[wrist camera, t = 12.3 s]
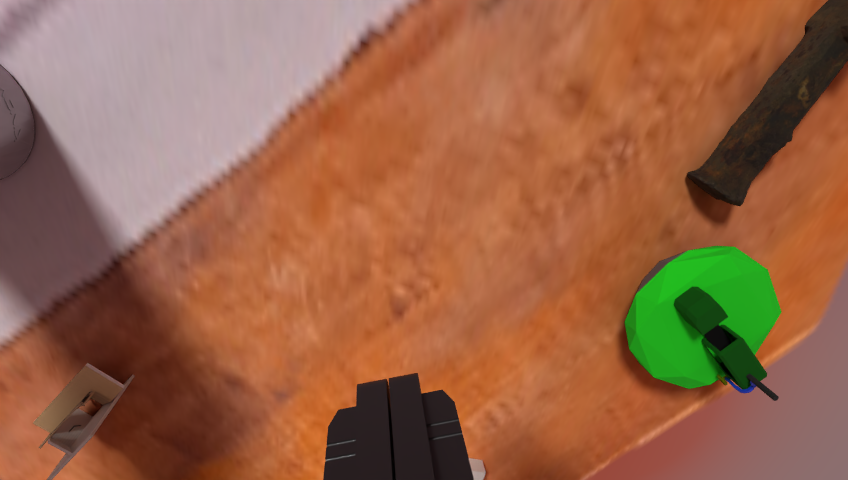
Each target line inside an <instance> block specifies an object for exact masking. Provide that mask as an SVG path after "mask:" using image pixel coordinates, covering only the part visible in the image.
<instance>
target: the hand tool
mask: <svg viewBox="0 0 848 480" xmlns="http://www.w3.org/2000/svg"><path fill="white" fill-rule="evenodd" d="M805 29H806V34H805V36H804V37H803V39H802V40H801V41H800V43H799V44H798V45H797V47H796V48H795V49H794V50H793V52H792V53H791V54H790V55H789V56H788V57H787V58H786V60H785V61H784V62H783V63H782V65H781V66H780V67H779V68H778V70H777V71H776V72H775V73H774V74H773V75H772V76H771V77H770V78H769V79H768V81H767V82H766V84H765V86H764V87H763V89H762V90H761V92H760V93H759V94H758V96H757V97H756V98H755V99H754V101H753V102H752V103H751V104H750V106H749V107H748V108H747V109H746V111H745V112H744V113H743V114H742V115H741V116H740V117H739V118H738V120H737V121H736V122H735V123H734V124H733V125H732V126H731V128H730V129H729V131H728V133H727V135H726V136H725V138H724V139H723V140H722V141H721V142H720V143H719V145H718V146H717V148H716V149H715V151H714V152H713V153H712V155H711V156H710V157H709V159H708V160H707V161H706V162H705V163H704V164H703V166H701V167H700V168H699V169H697V170H696V171H691V172H688V174H687V176H688V177H689V179H691V180H692V181H693V182H694V183H695V184H697V185H698V186H699V187H700V188H702V189H703V190H704V191H706V192H707V193H708V194H710V195H711V196H713V197H714V198H716V199H719V200H722V201H725V202H727V203H730V204H733V205H736V206H741V205H742V204H743V202H744V199H745V197H746V195H747V190H748V189H749V186H750V184H751V182H752V181H753V180H754V178H755V177H756V176H757V175H758V174H759V172H760V171H761V170H762V169H763V167H764V166H765V164H766V163H767V162H768V161H769V159H770V158H771V157H772V155H774V154H775V153H776V152H777V151H779V150H780V149H781V148H783V147H784V146H785V145H786V143H787V142H790V141H791V140H792V134H793V130H794V129H795V127H796V126H797V125H798V124H799V123H800V121H801V119H802V118H803V117H804V116H805V115H806V113H807V112H808V111H809V109H810V108H811V107H812V105H813V104H814V103H815V102H816V101H817V100H818V98H819V97H820V96H821V94H822V93H823V92H824V91H825V89H826V88H827V87H828V86H829V84H830V83H831V82H832V80H833V79H834V78H835V76H837V74H838V73H839V71H840V70H841V69H842V68H843V66H844V64H845V63H846V62H847V61H848V0H829V1H827V2H826V3H825V4H824V5H823V6H822V7H821V8H820V9H819V10H818V11H817V12H816V13H815V14H814V15H813V16H812V17H811V18H810V19H809V20H808V22H807V23H806V25H805Z"/></svg>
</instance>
